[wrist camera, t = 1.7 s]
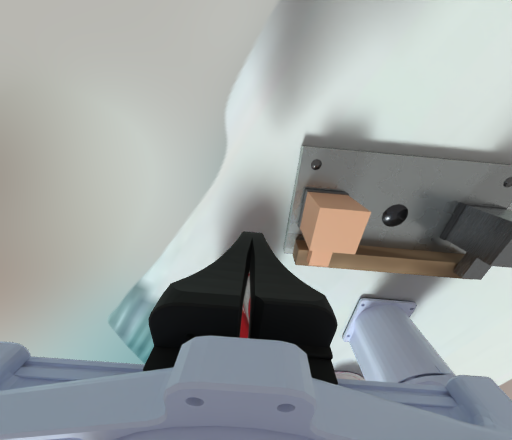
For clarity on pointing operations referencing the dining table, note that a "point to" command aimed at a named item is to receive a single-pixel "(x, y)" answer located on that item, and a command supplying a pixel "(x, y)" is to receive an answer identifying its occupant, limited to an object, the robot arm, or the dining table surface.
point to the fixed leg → (480, 238)
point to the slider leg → (331, 224)
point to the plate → (399, 193)
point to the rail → (388, 260)
